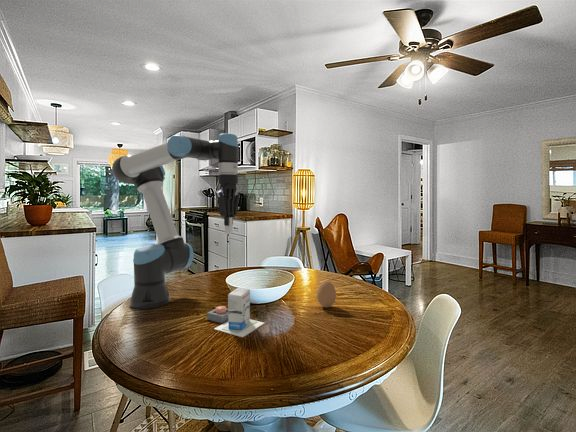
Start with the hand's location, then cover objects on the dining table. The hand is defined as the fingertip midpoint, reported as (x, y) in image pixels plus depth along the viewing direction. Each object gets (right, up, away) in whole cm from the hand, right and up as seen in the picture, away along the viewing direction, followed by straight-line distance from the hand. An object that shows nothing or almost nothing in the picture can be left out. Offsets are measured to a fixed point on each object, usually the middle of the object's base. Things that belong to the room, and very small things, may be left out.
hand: (228, 233), depth 132 cm
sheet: (+7, -31, -18) cm, 37 cm away
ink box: (+7, -31, -18) cm, 36 cm away
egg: (+39, -30, +1) cm, 49 cm away
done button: (-1, -29, -11) cm, 31 cm away
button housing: (-1, -30, -11) cm, 32 cm away
